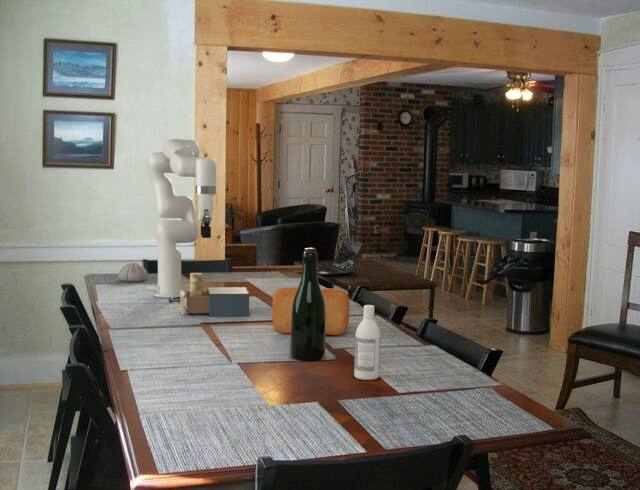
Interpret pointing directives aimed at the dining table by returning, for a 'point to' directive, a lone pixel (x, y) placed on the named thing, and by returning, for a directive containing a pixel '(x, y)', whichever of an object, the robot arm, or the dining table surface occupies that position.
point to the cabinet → (228, 301)
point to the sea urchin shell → (133, 273)
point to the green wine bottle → (308, 313)
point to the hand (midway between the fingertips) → (205, 236)
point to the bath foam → (367, 347)
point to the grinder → (196, 284)
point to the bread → (334, 310)
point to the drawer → (193, 302)
